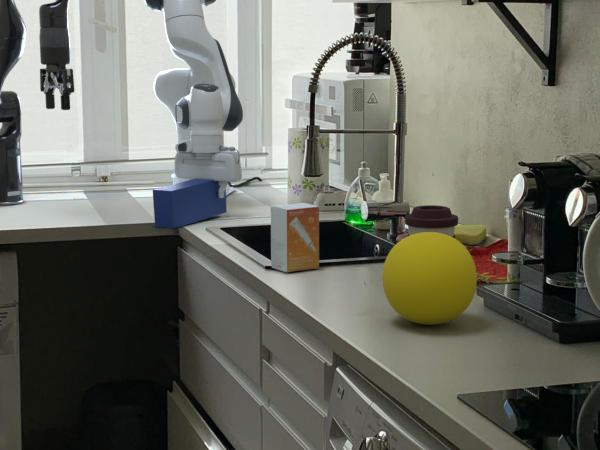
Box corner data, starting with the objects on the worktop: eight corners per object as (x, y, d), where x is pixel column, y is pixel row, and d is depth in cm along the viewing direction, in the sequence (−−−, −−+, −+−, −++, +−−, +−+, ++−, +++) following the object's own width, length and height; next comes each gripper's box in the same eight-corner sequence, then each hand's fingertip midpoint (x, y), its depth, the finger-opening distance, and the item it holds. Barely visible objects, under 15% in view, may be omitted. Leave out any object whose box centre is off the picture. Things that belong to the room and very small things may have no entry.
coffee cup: (400, 280, 202) (400, 204, 200) (450, 279, 203) (451, 203, 201) (409, 292, 193) (410, 212, 190) (462, 291, 193) (463, 211, 191)
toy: (446, 307, 181) (447, 222, 179) (492, 329, 167) (494, 237, 165) (367, 316, 176) (367, 228, 174) (408, 339, 162) (408, 244, 160)
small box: (287, 273, 210) (286, 209, 208) (270, 268, 216) (269, 205, 213) (320, 268, 215) (319, 205, 213) (303, 263, 220) (302, 202, 218)
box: (173, 228, 265) (171, 191, 263) (154, 226, 269) (152, 189, 267) (226, 212, 284) (225, 177, 281) (208, 210, 287) (206, 175, 285)
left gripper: (81, 45, 264) (84, 109, 267) (55, 45, 275) (58, 107, 277) (54, 45, 259) (57, 111, 262) (29, 46, 270) (32, 109, 273)
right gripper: (246, 146, 276) (247, 197, 278) (184, 142, 287) (186, 192, 289) (232, 148, 271) (233, 201, 273) (170, 144, 282) (171, 195, 284)
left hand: (58, 109), depth 270 cm, fingers open, 8 cm apart
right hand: (208, 196), depth 281 cm, fingers closed on box, 6 cm apart
